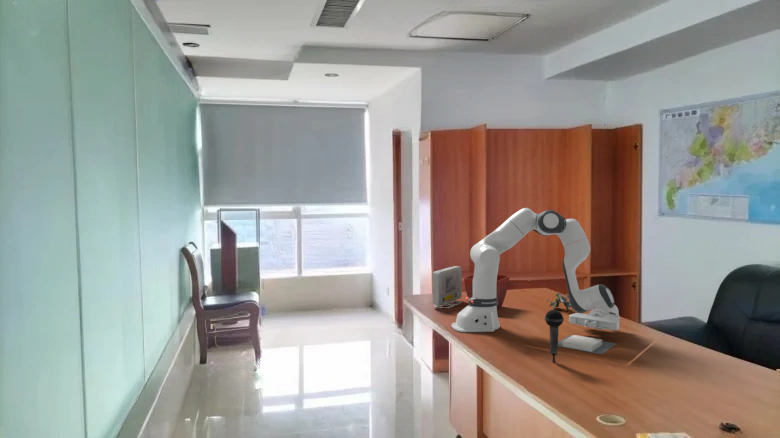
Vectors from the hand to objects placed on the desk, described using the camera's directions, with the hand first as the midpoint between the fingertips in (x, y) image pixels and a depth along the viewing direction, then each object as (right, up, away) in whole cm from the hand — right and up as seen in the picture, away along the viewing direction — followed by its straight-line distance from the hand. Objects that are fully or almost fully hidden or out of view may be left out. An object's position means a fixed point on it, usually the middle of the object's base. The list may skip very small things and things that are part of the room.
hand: (587, 325), depth 232 cm
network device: (-50, -3, +76) cm, 91 cm away
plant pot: (-30, -4, +68) cm, 74 cm away
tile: (0, -6, +1) cm, 6 cm away
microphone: (-20, -10, -22) cm, 31 cm away
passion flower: (+7, -4, +60) cm, 60 cm away
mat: (-2, -8, -2) cm, 8 cm away
